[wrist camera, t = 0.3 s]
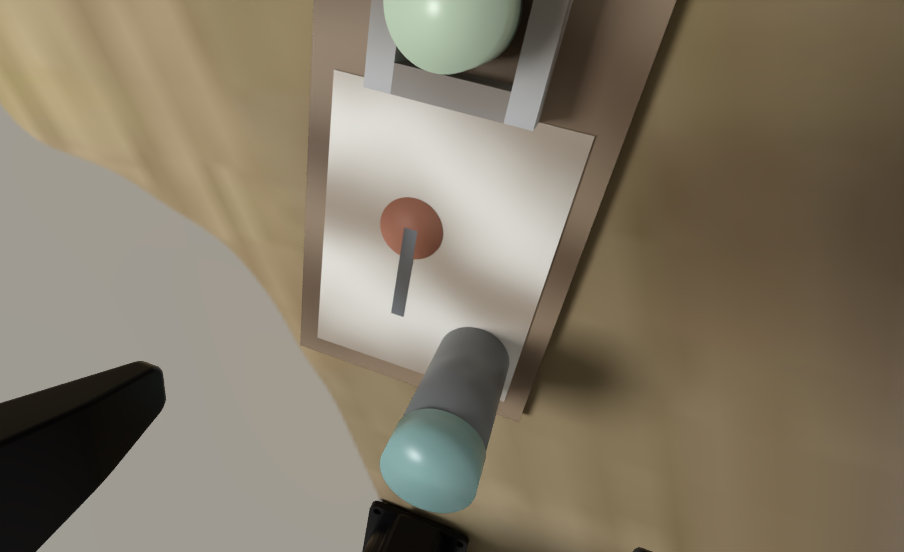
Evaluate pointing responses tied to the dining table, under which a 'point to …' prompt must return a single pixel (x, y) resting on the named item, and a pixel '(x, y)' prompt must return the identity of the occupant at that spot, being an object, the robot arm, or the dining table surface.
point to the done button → (452, 31)
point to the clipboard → (461, 181)
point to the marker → (448, 424)
